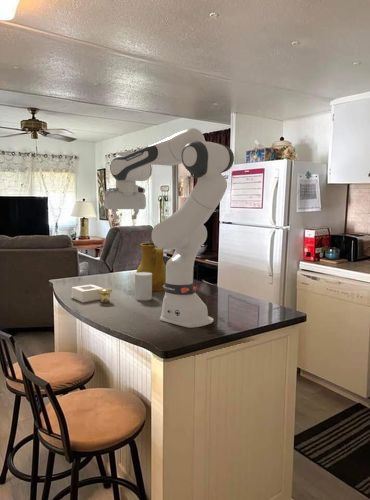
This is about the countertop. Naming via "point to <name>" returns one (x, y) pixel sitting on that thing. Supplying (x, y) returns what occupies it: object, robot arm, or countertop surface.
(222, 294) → the countertop surface
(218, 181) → the robot arm
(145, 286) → the white cylinder
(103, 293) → the brass dome knob
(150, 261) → the pitcher
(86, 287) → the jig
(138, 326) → the countertop surface
